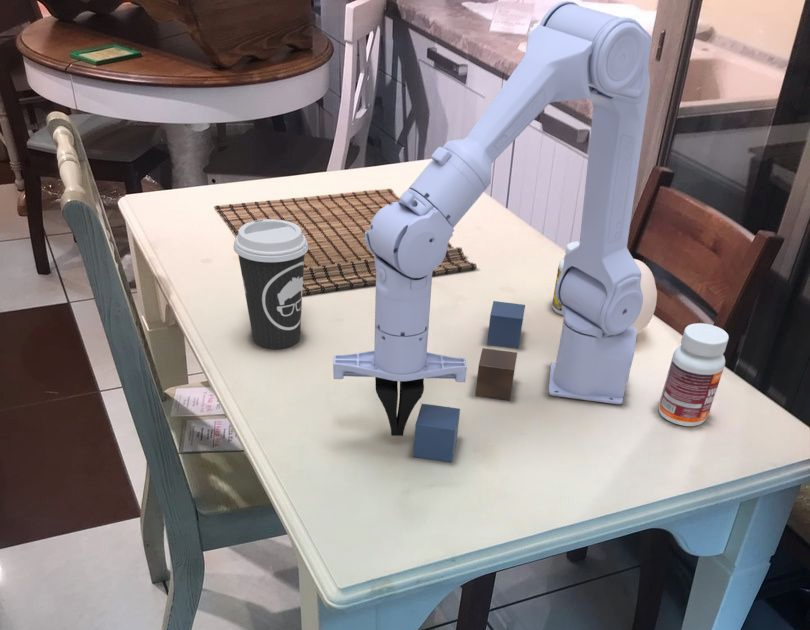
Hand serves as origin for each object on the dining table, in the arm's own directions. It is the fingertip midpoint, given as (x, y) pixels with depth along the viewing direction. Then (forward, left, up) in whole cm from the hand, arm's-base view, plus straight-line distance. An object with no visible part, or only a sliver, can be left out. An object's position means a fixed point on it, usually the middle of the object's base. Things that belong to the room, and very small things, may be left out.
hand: (396, 431), depth 97 cm
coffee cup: (+21, -21, -2) cm, 30 cm away
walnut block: (-10, -15, -2) cm, 18 cm away
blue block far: (-10, -29, -2) cm, 31 cm away
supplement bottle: (-19, -41, -2) cm, 45 cm away
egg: (-26, -34, -2) cm, 43 cm away
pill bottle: (-34, -15, -2) cm, 37 cm away
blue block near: (-5, 0, -2) cm, 5 cm away
